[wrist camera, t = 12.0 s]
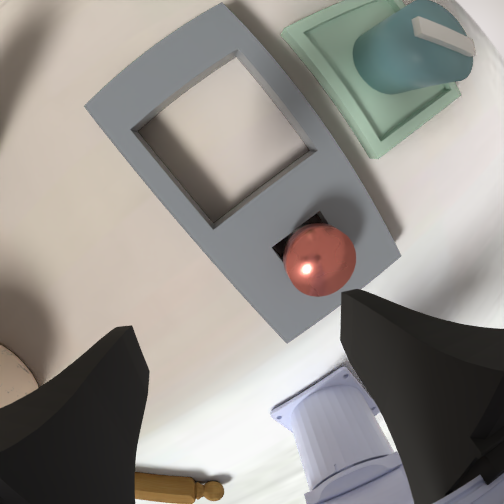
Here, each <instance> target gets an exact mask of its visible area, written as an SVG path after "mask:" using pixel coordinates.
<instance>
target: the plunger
mask: <svg viewBox="0 0 504 504" xmlns="http://www.w3.org/2000/svg"><path fill="white" fill-rule="evenodd" d="M283 264H284V268H285V271H286V273H287V275H288V277H289V278H290V280H291V282H292V283H293V285H294V286H295V287H296V288H297V289H298V290H299V291H300V292H302V293H304V294H306V295H309V296H314V297H321V296H327V295H330V294H332V293H334V292H336V291H338V290H339V289H341V288H342V287H343V286H344V285H345V284H346V283H347V282H348V280H349V279H350V277H351V276H352V274H353V272H354V269H355V265H356V251H355V248H354V245H353V243H352V241H351V240H350V238H349V237H348V236H347V235H345V234H344V233H343V232H341V231H340V230H338V229H337V228H335V227H334V226H332V225H329V224H326V223H312V224H304V225H301V226H299V227H298V228H297V229H295V230H294V231H293V232H291V233H290V234H289V235H288V237H287V239H286V242H285V249H284V254H283Z"/></svg>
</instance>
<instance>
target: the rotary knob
mask: <svg viewBox="0 0 504 504" xmlns="http://www.w3.org/2000/svg"><path fill="white" fill-rule="evenodd" d="M473 56H476V52H475V47H474V42H473V39H471V38H469V37H467V35H466V33H465V31H464V30H463V28H462V26H461V25H460V24H459V22H458V21H457V20H456V19H455V17H454V16H453V15H452V14H451V13H450V12H448V11H447V10H446V9H445V8H443V7H442V6H440V5H439V4H437V3H435V2H432V1H429V0H416V1H414V2H412V3H410V4H409V5H407V6H405V7H404V8H402V9H400V10H399V11H397V12H396V13H394V14H392V15H391V16H389V17H388V18H386V19H385V20H383V21H382V22H380V23H379V24H377V25H375V26H374V27H373V28H371V29H370V30H368V31H367V32H365V33H364V34H362V35H361V36H359V37H358V38H357V40H356V41H355V43H354V46H353V61H354V64H355V67H356V69H357V71H358V73H359V74H360V76H361V77H362V79H363V80H364V81H365V82H366V83H367V84H368V85H369V86H370V87H372V88H373V89H375V90H377V91H379V92H381V93H384V94H390V95H393V94H398V93H403V92H407V91H411V90H416V89H420V88H425V87H430V86H435V85H440V84H445V83H450V82H456V81H461V80H464V79H465V78H467V77H468V75H469V74H470V72H471V69H472V65H473Z"/></svg>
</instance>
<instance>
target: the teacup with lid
mask: <svg viewBox="0 0 504 504" xmlns="http://www.w3.org/2000/svg"><path fill="white" fill-rule="evenodd" d="M38 388H39V387H38V384H37V382H36V380H35V378H34V377H33V375H32V374H31V372H30V371H29V369H28V368H27V367H26V366H25V364H24V363H23V362H22V361H21V360H20V359H19V358H18V357H17V356H16V355H15V354H13V353H12V352H11V351H10V350H8V349H7V348H5V347H4V346H2V345H0V408H2V407H4V406H6V405H9V404H11V403H13V402H15V401H16V400H18V399H20V398H22V397H24V396H26V395H28V394H29V393H31V392H33V391H35V390H36V389H38Z"/></svg>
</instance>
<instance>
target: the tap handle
mask: <svg viewBox="0 0 504 504" xmlns="http://www.w3.org/2000/svg"><path fill="white" fill-rule="evenodd" d="M223 495H224V488H223V486H222V485H221V484H220V483H219V482H217V481H209V482H207V483H205V484H204V485H202V484H200V483H199V482H196V483H195V480H194V479H193V478H192V477H181V476H168V475H157V474H149V473H141V472H135V499H141V500H148V501H156V502H166V503H177V504H192V503H194V502H195V500H196V499H200V498H201V497H203V496H204V497H205V498H206V499H208V500H210V501H217V500H220V499H221V498H222V497H223Z"/></svg>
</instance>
